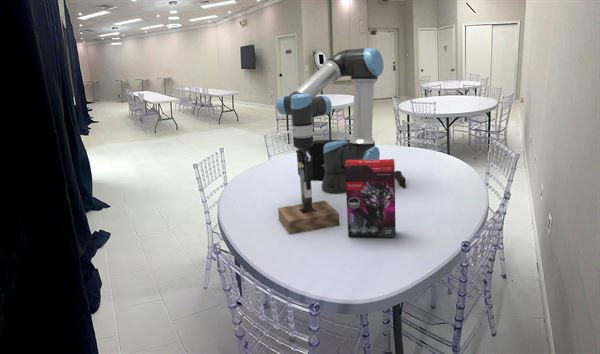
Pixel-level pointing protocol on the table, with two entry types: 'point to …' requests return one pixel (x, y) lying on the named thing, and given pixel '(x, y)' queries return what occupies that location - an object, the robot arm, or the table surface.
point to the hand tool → (400, 178)
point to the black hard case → (319, 158)
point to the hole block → (308, 217)
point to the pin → (305, 201)
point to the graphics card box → (370, 198)
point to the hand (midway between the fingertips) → (306, 195)
